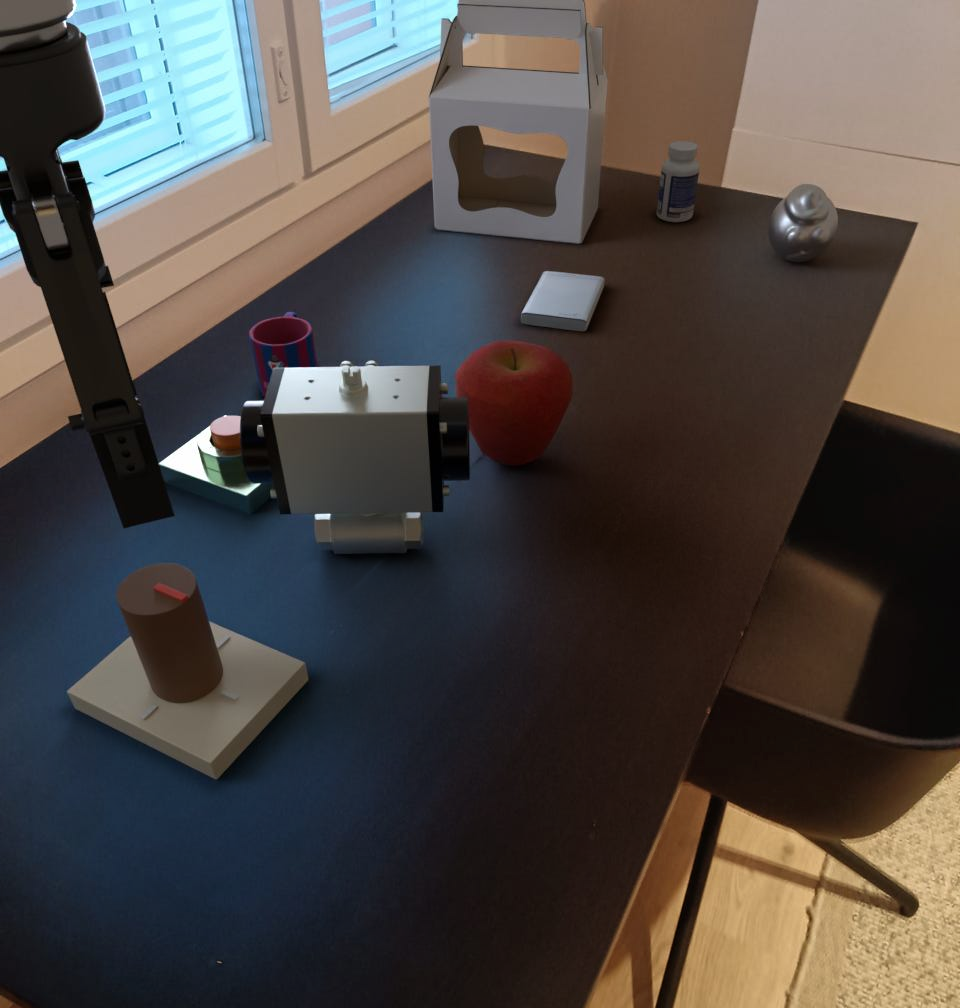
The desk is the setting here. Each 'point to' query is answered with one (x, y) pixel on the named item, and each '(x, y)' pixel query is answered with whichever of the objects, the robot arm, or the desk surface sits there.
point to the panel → (200, 723)
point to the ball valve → (358, 450)
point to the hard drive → (563, 301)
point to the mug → (281, 346)
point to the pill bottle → (678, 183)
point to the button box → (214, 474)
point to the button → (226, 432)
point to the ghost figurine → (803, 224)
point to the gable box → (517, 124)
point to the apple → (514, 398)
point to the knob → (171, 631)
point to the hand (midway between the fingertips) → (130, 453)
